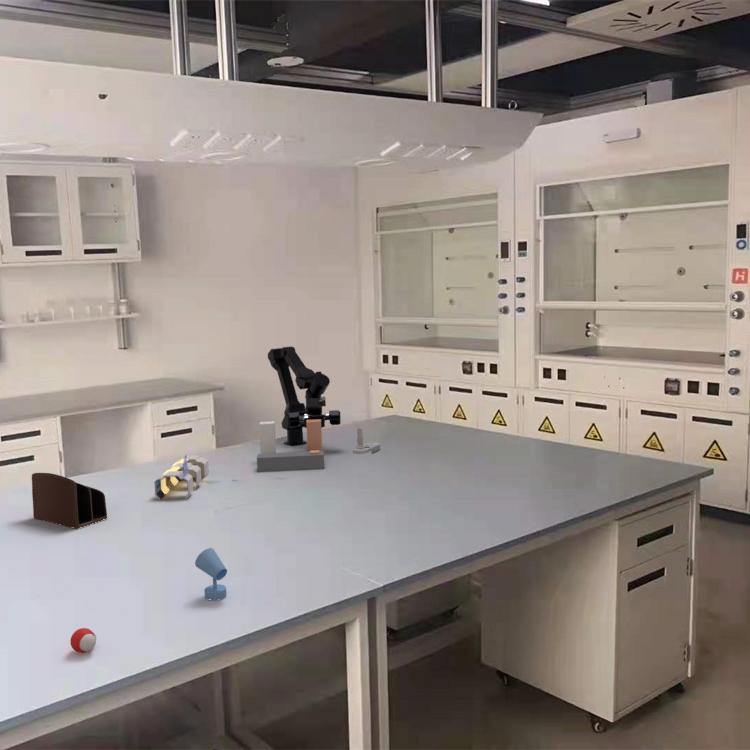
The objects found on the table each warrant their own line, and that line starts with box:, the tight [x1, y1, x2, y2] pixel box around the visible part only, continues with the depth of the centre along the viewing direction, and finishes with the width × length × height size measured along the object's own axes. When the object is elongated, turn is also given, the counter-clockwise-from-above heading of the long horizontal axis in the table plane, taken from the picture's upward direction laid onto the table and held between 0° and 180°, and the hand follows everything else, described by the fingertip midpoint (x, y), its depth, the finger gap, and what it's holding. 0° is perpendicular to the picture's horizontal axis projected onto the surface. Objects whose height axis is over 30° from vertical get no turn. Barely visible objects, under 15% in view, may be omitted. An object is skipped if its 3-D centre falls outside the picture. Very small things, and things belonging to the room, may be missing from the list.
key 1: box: [258, 420, 277, 454], centre depth 273 cm, size 4×5×14 cm
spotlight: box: [194, 547, 228, 601], centre depth 167 cm, size 5×10×7 cm
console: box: [256, 450, 325, 473], centre depth 271 cm, size 16×22×7 cm
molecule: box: [69, 627, 97, 653], centre depth 145 cm, size 5×5×4 cm
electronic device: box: [352, 428, 381, 455], centre depth 290 cm, size 5×10×15 cm
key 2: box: [306, 419, 323, 451], centre depth 275 cm, size 4×5×14 cm
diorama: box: [153, 454, 210, 501], centre depth 250 cm, size 25×10×13 cm, turn 178°
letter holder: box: [31, 472, 108, 529], centre depth 222 cm, size 10×20×14 cm, turn 57°
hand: (315, 438), depth 280 cm, fingers closed
